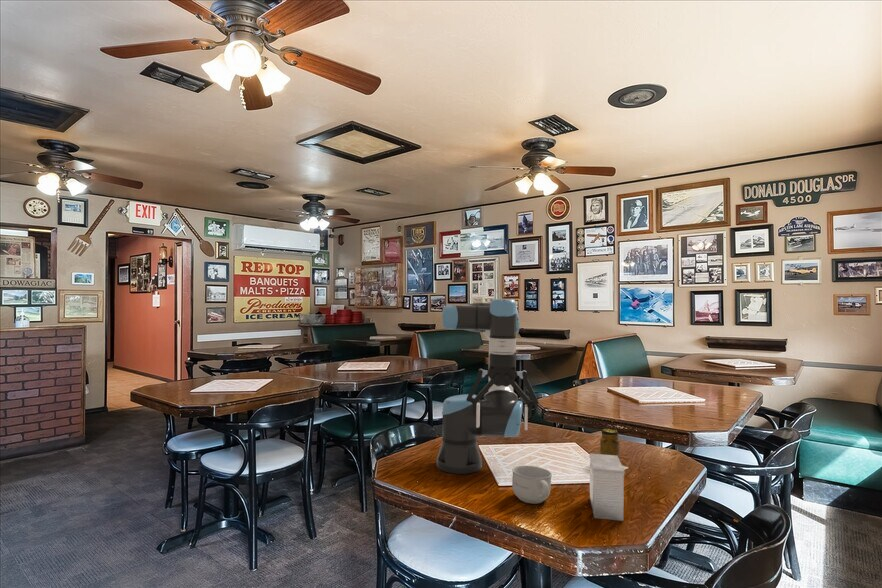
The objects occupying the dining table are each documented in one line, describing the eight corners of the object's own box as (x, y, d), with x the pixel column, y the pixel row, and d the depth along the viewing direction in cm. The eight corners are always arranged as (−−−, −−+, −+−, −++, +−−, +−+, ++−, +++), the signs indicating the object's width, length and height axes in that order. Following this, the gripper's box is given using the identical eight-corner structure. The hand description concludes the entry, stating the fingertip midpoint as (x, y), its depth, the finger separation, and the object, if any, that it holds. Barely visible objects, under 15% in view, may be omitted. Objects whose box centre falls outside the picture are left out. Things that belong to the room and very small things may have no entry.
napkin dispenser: (593, 518, 118) (593, 468, 118) (589, 498, 130) (589, 453, 130) (624, 521, 116) (624, 471, 117) (617, 501, 128) (617, 455, 129)
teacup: (508, 491, 134) (508, 464, 134) (544, 491, 135) (544, 463, 135) (520, 513, 120) (520, 482, 120) (561, 512, 121) (561, 481, 121)
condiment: (606, 461, 162) (606, 426, 162) (629, 468, 155) (629, 432, 155) (594, 465, 157) (594, 430, 157) (617, 473, 150) (617, 435, 151)
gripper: (457, 353, 130) (456, 428, 130) (548, 355, 126) (547, 433, 126) (460, 350, 138) (459, 422, 137) (546, 353, 134) (545, 426, 133)
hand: (501, 427), depth 132 cm, fingers open, 13 cm apart
